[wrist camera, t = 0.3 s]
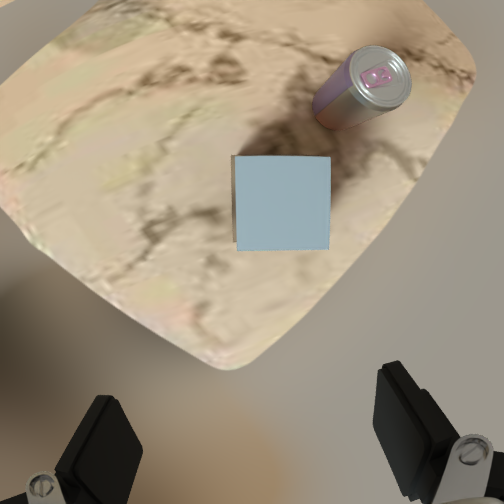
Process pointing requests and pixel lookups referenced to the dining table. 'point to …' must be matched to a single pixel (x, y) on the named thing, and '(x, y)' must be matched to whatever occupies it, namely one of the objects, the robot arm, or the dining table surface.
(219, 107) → the dining table surface
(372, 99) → the beverage can
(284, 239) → the top block
